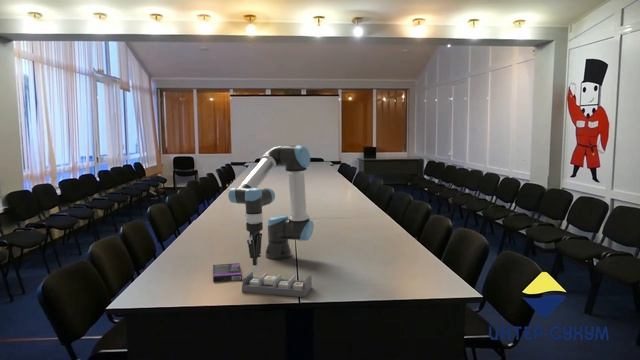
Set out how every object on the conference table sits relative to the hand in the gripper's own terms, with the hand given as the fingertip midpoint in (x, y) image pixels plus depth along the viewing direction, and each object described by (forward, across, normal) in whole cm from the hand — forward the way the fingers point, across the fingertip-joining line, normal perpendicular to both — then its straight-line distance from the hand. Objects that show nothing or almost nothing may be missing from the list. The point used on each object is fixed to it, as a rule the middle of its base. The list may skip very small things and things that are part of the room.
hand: (256, 270), depth 208 cm
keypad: (+8, +1, +10) cm, 13 cm away
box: (+9, -14, -22) cm, 27 cm away
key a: (+7, +1, +14) cm, 16 cm away
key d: (+5, +1, +7) cm, 9 cm away
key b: (+7, +1, 0) cm, 7 cm away
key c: (+7, +1, +21) cm, 22 cm away
